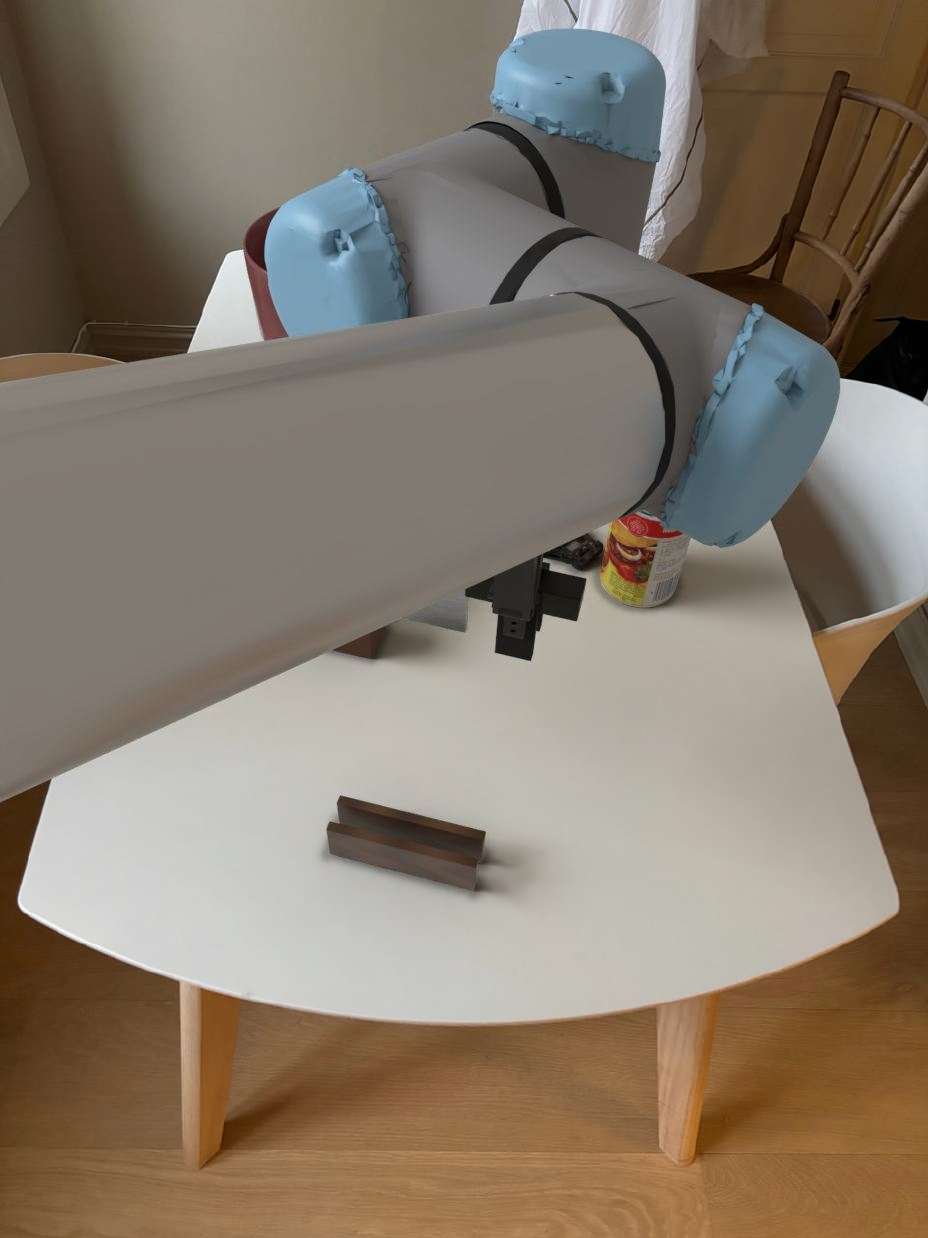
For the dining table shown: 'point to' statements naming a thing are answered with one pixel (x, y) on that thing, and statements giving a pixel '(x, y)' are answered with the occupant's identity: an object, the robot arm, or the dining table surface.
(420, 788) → the dining table surface
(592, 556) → the knife
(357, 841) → the stand
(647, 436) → the robot arm
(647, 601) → the canned food
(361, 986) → the dining table surface
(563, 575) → the cake knife
